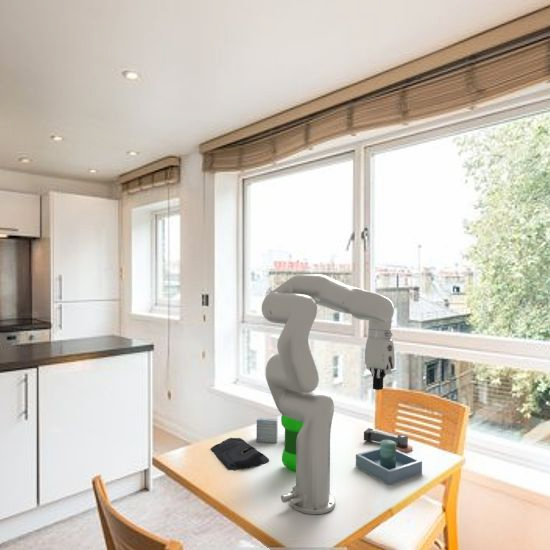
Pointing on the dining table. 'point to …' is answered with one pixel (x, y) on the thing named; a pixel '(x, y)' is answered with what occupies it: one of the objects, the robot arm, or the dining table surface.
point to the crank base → (404, 449)
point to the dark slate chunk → (238, 454)
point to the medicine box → (267, 429)
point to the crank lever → (386, 437)
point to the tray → (403, 470)
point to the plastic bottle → (290, 441)
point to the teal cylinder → (388, 454)
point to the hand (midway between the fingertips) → (377, 389)
